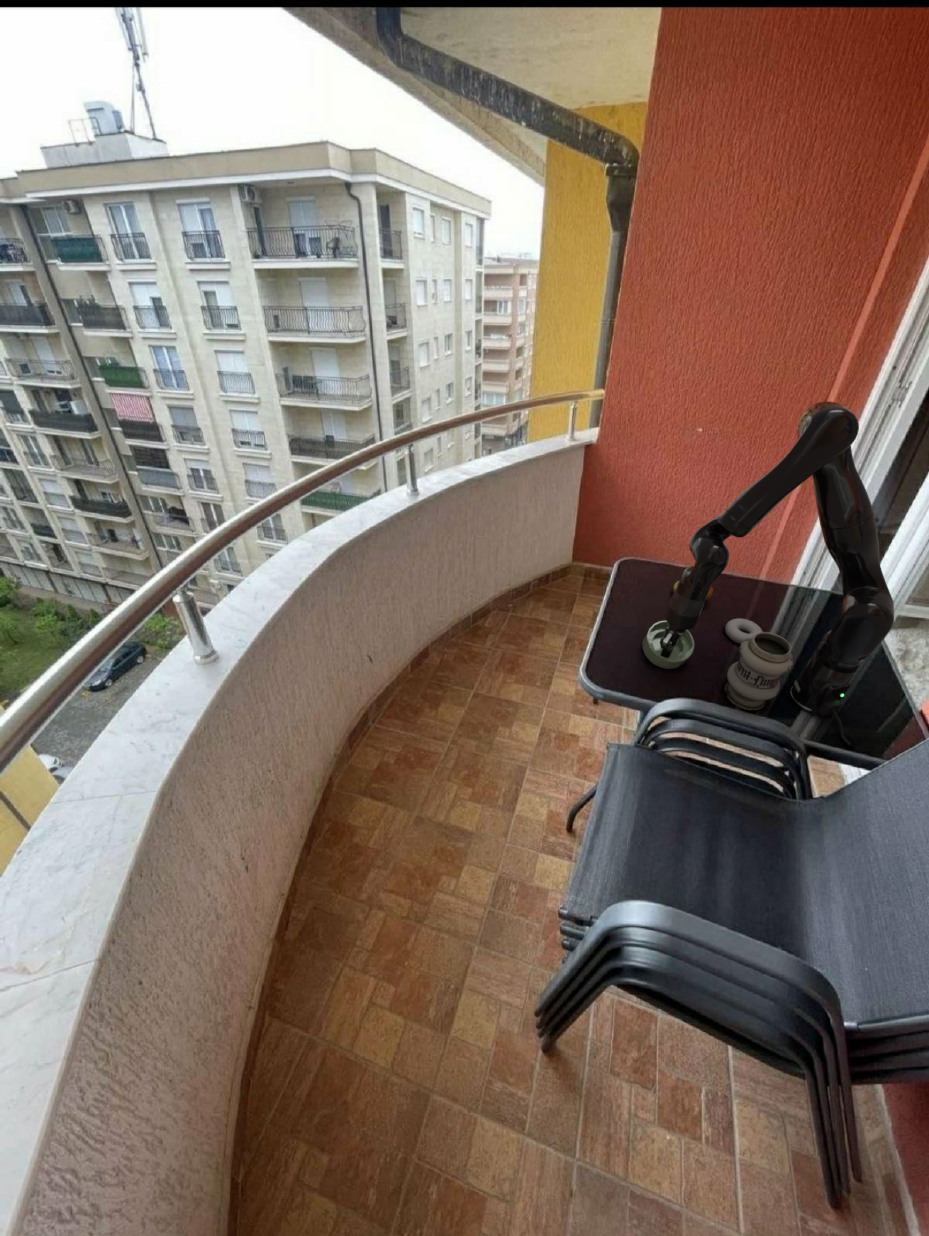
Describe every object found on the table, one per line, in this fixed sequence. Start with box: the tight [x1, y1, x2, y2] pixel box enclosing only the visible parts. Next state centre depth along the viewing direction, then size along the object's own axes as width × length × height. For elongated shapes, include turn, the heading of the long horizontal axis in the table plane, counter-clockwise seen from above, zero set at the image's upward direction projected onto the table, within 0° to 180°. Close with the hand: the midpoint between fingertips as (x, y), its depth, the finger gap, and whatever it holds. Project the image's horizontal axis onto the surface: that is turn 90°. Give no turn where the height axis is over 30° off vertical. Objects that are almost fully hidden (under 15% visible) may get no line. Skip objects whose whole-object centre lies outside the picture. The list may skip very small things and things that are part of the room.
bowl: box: [642, 619, 695, 670], centre depth 146 cm, size 12×12×5 cm
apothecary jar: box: [723, 631, 794, 711], centre depth 133 cm, size 12×12×18 cm
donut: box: [724, 617, 764, 645], centre depth 155 cm, size 10×4×10 cm
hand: (665, 656), depth 146 cm, fingers closed
